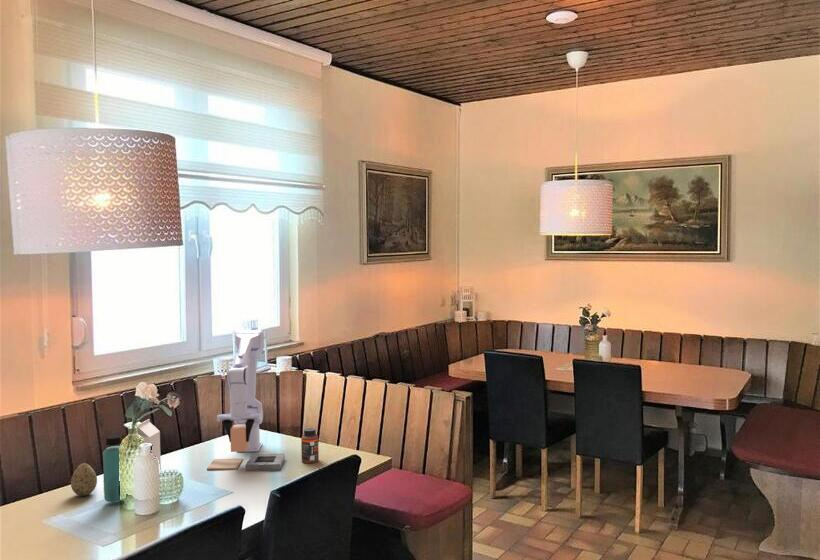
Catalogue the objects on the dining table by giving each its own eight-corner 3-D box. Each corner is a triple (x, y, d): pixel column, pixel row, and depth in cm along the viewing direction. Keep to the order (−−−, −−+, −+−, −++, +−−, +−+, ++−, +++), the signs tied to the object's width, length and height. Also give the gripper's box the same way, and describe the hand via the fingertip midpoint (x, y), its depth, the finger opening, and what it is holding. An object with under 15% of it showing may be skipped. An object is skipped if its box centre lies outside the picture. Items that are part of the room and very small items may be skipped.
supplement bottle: (317, 463, 232) (316, 431, 231) (300, 463, 232) (299, 431, 232) (319, 458, 238) (319, 426, 237) (303, 458, 238) (302, 426, 238)
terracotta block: (233, 447, 233) (233, 424, 233) (248, 447, 234) (247, 424, 233) (230, 451, 228) (230, 428, 228) (245, 451, 229) (245, 428, 228)
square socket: (251, 460, 237) (251, 454, 237) (284, 459, 237) (284, 453, 237) (245, 471, 225) (245, 465, 225) (280, 470, 226) (280, 464, 226)
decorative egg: (81, 490, 209) (80, 458, 208) (102, 491, 208) (101, 459, 207) (66, 499, 202) (64, 466, 201) (87, 500, 200) (86, 467, 200)
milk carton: (161, 475, 221) (159, 418, 220) (150, 483, 214) (149, 424, 213) (140, 475, 222) (138, 418, 221) (129, 482, 215) (127, 424, 214)
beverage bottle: (119, 508, 194) (116, 440, 193) (98, 506, 196) (96, 439, 195) (132, 499, 201) (130, 433, 200) (112, 498, 202) (110, 432, 201)
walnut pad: (213, 460, 236) (213, 459, 236) (242, 460, 237) (242, 458, 237) (207, 470, 226) (206, 468, 226) (236, 469, 227) (236, 467, 227)
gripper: (214, 405, 226) (215, 445, 227) (258, 404, 227) (258, 443, 227) (219, 400, 233) (220, 439, 234) (261, 399, 234) (262, 437, 234)
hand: (239, 441), depth 231 cm, fingers closed on terracotta block, 5 cm apart
